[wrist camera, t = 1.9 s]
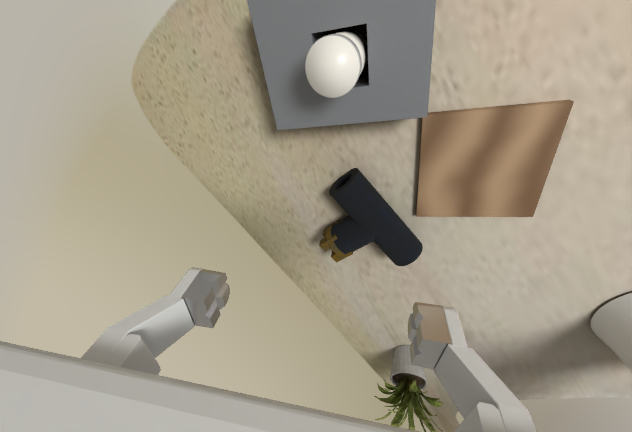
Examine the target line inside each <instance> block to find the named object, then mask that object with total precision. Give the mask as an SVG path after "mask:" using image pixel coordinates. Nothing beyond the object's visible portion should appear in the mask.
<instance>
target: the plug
mask: <svg viewBox="0 0 632 432" xmlns="http://www.w3.org/2000/svg"><path fill="white" fill-rule="evenodd" d="M367 59H368V45H367V42H366V40H365V39H364V37H363V36H362V35H361V34H360V33H358V32H356V31H353V30H345V31H342V32H339V33H335V34H330V35H327V36H324V37H321V38H320V39H318V40H317V41H316V42H315V43H314V44H313V45H312V46H311V48H310V49H309V51H308V54H307V56H306V61H305V72H306V77H307V80H308V82H309V84H310V85H311V87H312V88H313V89H314V90H315V91H316V92H317V93H318V94H320V95H322V96H324V97H328V98H337V97H341V96H343V95H345V94H347V93H348V92H349V91H350V90H351V89H352V88H353V87H354V86H355V84H356V82H357V80H358V78H359V76H360V74H361V72H362V70H363V68H364V67H365V65H366V62H367Z"/></svg>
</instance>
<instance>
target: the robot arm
mask: <svg viewBox="0 0 632 432" xmlns="http://www.w3.org/2000/svg"><path fill="white" fill-rule="evenodd" d="M226 279H227V277H226V274H225V273H221V272H216V271H210V270H204V269H199V268H191V269H189V270H188V272H187V273H186V274H185V275H184V277H183V278H182V279H181V281H180V282H179V283H178V285H177V286H176V287H175V288H174V290H173V291H172V292H171V294H170V295H169V296H164V297H162V298H160V299H159V300H157V301H155V302H153V303H151V304H150V305H148V306H146V307H144V308H142V309H141V310H139V311H137V312H135V313H134V314H132V315H130V316H129V317H126V318H124V319H123V320H121V321H119V322H117V323H116V324H114V325H112V326H110V327H108V328H107V329H106V330H105V332H104V333H103V334H102V335H101V336H100V337H99V338H98V339H97V340H96V342H95V343H94V344H93V345H92V346H91V347H90V349H89V350H88V351H87V352H86V353H85V354H84V355H83V356H82V357H81V358H76V357H71V356H66V355H62V354H57V353H52V352H48V351H43V350H38V349H34V348H29V347H25V346H20V345H16V344H11V343H7V342H2V341H0V432H418V431H414V430H409V429H404V428H400V427H395V426H390V425H386V424H381V423H376V422H372V421H367V420H362V419H358V418H353V417H348V416H344V415H339V414H335V413H330V412H326V411H321V410H316V409H312V408H307V407H303V406H298V405H293V404H288V403H284V402H279V401H275V400H270V399H266V398H261V397H256V396H252V395H247V394H243V393H238V392H233V391H228V390H224V389H219V388H215V387H210V386H205V385H201V384H196V383H192V382H187V381H182V380H177V379H173V378H168V377H164V376H159V375H158V374H159V372H160V366H159V364H158V363H157V361H156V360H155V358H156V357H157V356H158V355H159V354H161V353H162V352H163V351H165V350H166V349H167V348H168V347H169V346H171V345H172V344H173V343H174V342H176V341H177V340H178V339H179V338H181V337H182V336H183V335H185V334H186V333H187V332H188V331H190V330H191V329H192V328H193V327H194V325H196V326H203V327H209V328H213V327H214V325H215V323H216V322H217V320H218V318H219V316H220V311H219V310H220V309H221V308H223V307H224V306H225V305H226V303H227V301H228V298H229V294H230V289H229V285H228V284H227V283H226V282H225V281H226ZM591 329H592V331H593V332H594V333H595V334H596V335H597V336H598V337H599V338H600V339H601V340H602V341H603V342H604V343H606V344H607V345H608V346H609V347H610V348H611V349H612V350H613V351H614V353H615V354H616V355H617V356H618V357H619V358H620V359H621V360H622V361H623V362H624V364H625V365H626V366H627V367H628V368H629V369H630V371H631V372H632V293H629V294H626V295H623V296H621V297H618V298H616V299H614V300H612V301H610V302H608V303H607V304H605V305H604V306H602V307H601V308H600V309H599V310H597V312H596V313H595V314H594V315H593V317H592V319H591ZM408 338H409V339H410V340H411V342H412V343H411V346H410V357H411V365H415V366H419V367H424V368H429V369H434V372H435V374H436V375H437V377H438V378H439V380H440V382H441V383H442V385H443V386H444V388H445V389H446V391H447V393H448V394H449V396H450V397H451V399H452V400H453V402H454V404H455V405H456V407H457V408H458V410H459V411H460V413H461V415H462V416H463V418H464V421H463V422H462V423H461V424H460V425H459V426H458V428H457V429H456V430H455V431H454V432H537V431H536V428H535V426H534V423H533V421H532V418H531V416H530V413H529V411H528V410H527V408H526V407H525V406H524V405H523V404H522V403H521V402H520V401H519V400H518V399H517V397H516V396H515V395H514V394H513V393H512V392H511V391H510V390H509V389H508V388H507V386H506V385H505V384H504V383H503V382H502V381H501V380H500V379H499V378H498V377H497V375H496V374H495V373H494V372H493V371H492V370H491V369H490V368H489V367H488V365H487V364H486V363H485V362H484V361H483V360H482V359H481V358H480V357H479V356H478V354H477V353H476V352H475V351H474V350H473V349H472V348H468V347H467V343H466V340H465V336H464V333H463V329H462V326H461V322H460V319H459V315H458V312H457V310H456V309H455V308H451V307H444V306H439V305H432V304H425V303H418V302H415V303H414V306H413V313H412V314H410V317H409V321H408Z"/></svg>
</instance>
